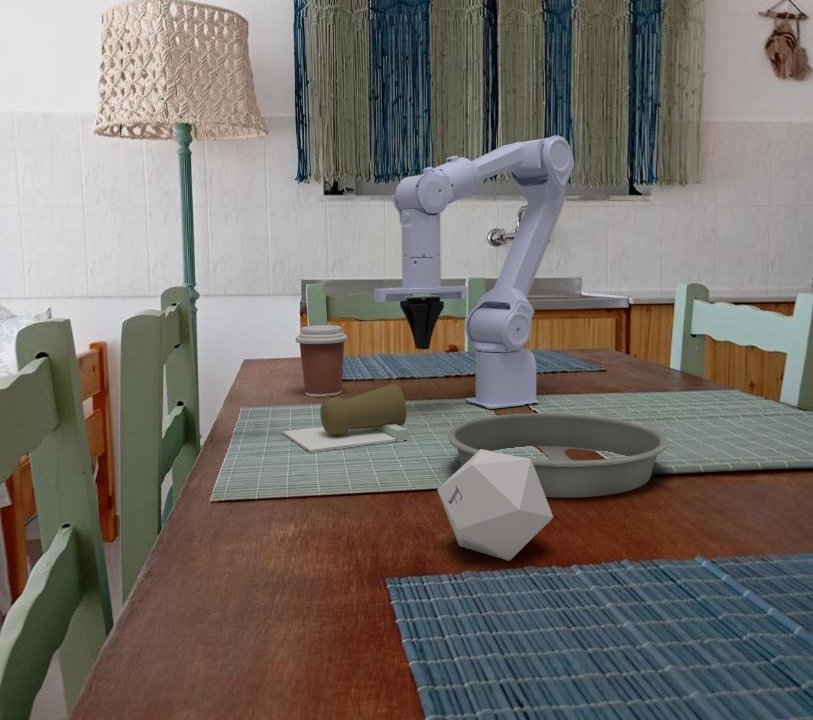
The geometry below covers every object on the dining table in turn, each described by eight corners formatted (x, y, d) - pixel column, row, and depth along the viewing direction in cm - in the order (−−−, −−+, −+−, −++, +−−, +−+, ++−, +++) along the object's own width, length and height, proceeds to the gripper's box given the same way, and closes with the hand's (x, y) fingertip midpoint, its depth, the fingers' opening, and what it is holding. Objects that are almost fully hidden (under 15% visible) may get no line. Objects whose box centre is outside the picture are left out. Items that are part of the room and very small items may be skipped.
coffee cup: (287, 397, 142) (285, 329, 141) (313, 388, 151) (310, 324, 149) (334, 400, 139) (332, 330, 137) (357, 391, 147) (356, 325, 145)
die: (455, 533, 75) (409, 462, 70) (538, 483, 75) (499, 409, 70) (489, 599, 68) (441, 526, 63) (581, 544, 68) (541, 466, 63)
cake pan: (636, 519, 77) (637, 472, 77) (409, 485, 89) (408, 445, 88) (686, 458, 98) (688, 422, 98) (498, 438, 110) (497, 405, 110)
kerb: (372, 423, 120) (372, 413, 119) (407, 440, 109) (407, 429, 109) (363, 424, 119) (363, 414, 119) (397, 441, 108) (397, 430, 108)
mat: (362, 424, 119) (362, 422, 119) (396, 441, 108) (396, 439, 108) (282, 434, 114) (282, 431, 114) (310, 452, 103) (309, 449, 103)
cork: (394, 374, 114) (320, 388, 109) (410, 410, 110) (334, 425, 106) (384, 399, 118) (312, 413, 114) (399, 434, 115) (326, 449, 110)
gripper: (451, 256, 128) (452, 343, 129) (365, 258, 121) (367, 348, 123) (474, 256, 121) (474, 347, 123) (384, 258, 115) (386, 353, 117)
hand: (422, 348), depth 123 cm, fingers closed
